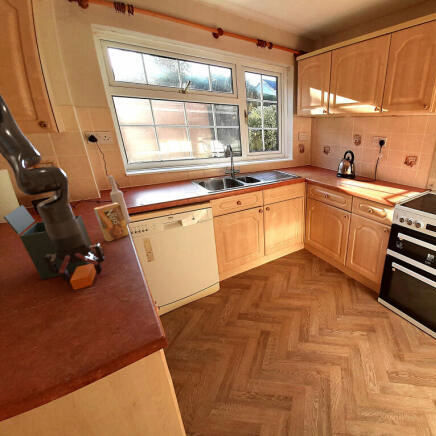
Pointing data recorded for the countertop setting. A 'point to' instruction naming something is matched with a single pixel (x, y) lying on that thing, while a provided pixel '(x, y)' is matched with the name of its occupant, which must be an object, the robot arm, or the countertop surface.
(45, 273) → the dark green open box
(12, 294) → the countertop surface
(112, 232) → the candy box
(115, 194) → the bottle
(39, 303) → the countertop surface
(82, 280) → the orange rectangular block
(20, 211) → the flap
